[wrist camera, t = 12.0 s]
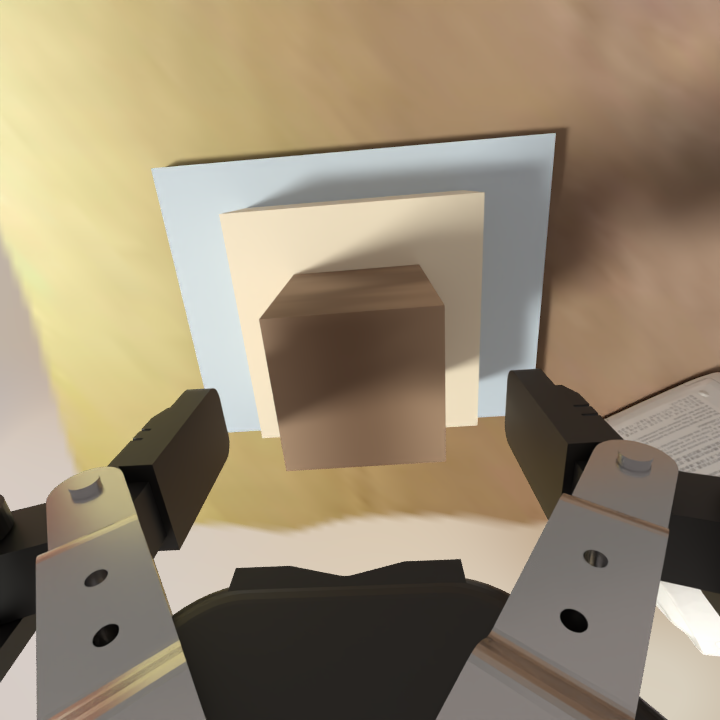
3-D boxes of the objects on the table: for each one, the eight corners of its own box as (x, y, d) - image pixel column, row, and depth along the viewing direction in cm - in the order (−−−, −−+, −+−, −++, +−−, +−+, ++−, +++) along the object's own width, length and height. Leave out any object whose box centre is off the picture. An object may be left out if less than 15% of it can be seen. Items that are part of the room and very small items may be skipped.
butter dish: (546, 135, 20) (603, 120, 15) (525, 405, 25) (561, 456, 20) (160, 169, 20) (100, 165, 16) (220, 423, 26) (188, 477, 21)
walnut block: (419, 264, 17) (444, 304, 11) (422, 378, 19) (446, 461, 13) (293, 274, 17) (259, 319, 12) (309, 386, 19) (286, 471, 14)
